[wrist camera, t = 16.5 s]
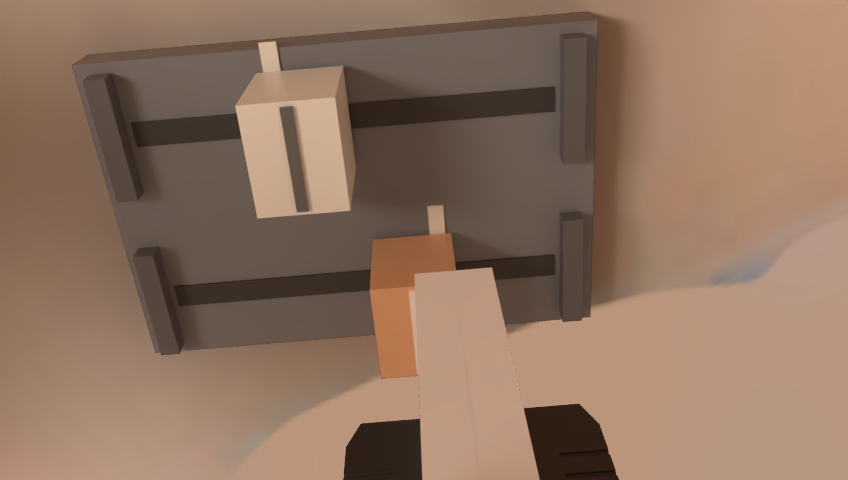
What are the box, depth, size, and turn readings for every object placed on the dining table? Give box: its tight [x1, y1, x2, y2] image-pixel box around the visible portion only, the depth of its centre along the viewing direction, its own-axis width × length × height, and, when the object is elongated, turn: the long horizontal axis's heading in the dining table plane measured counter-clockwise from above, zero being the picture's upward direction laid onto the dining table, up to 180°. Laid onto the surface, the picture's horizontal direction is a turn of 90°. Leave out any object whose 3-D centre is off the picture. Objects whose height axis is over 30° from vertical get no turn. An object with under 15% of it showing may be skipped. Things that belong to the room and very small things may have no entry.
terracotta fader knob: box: [370, 233, 456, 379], centre depth 38 cm, size 4×5×5 cm
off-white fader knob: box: [235, 66, 356, 219], centre depth 34 cm, size 4×5×5 cm
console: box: [72, 12, 598, 355], centre depth 39 cm, size 24×17×3 cm
